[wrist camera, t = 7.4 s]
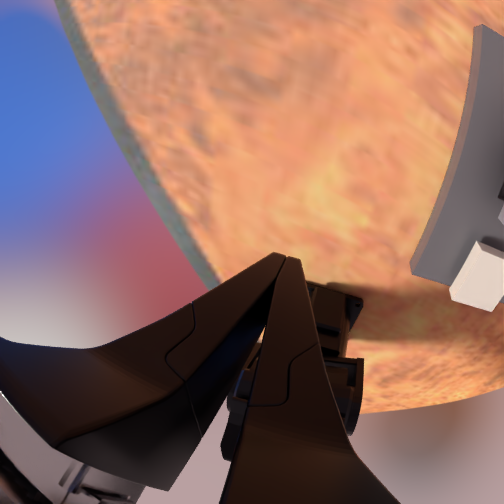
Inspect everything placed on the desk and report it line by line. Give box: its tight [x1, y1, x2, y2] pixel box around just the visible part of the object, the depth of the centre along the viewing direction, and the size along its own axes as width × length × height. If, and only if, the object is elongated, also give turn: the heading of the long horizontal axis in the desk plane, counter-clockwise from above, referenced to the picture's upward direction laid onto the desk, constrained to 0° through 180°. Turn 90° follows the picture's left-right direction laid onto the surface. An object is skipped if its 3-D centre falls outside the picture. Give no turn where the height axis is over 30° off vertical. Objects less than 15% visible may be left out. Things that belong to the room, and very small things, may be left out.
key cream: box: [449, 241, 504, 312], centre depth 15 cm, size 4×4×2 cm
